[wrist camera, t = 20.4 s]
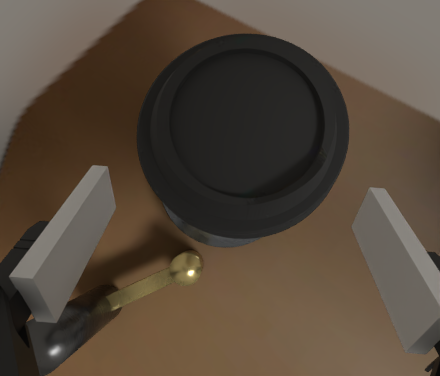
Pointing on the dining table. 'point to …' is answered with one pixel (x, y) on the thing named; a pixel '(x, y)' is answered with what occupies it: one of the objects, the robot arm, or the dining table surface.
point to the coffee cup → (243, 135)
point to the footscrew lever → (101, 311)
